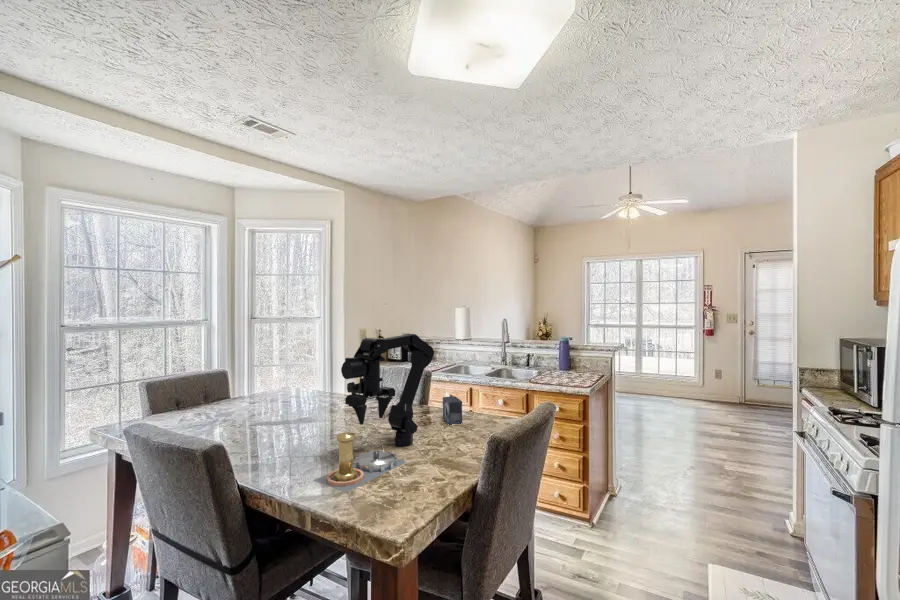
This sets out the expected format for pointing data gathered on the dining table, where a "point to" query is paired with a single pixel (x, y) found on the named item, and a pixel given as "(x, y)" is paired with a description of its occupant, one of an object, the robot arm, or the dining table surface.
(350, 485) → the gear board
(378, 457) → the gear
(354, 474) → the gold piece
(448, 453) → the dining table surface
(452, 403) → the small box
